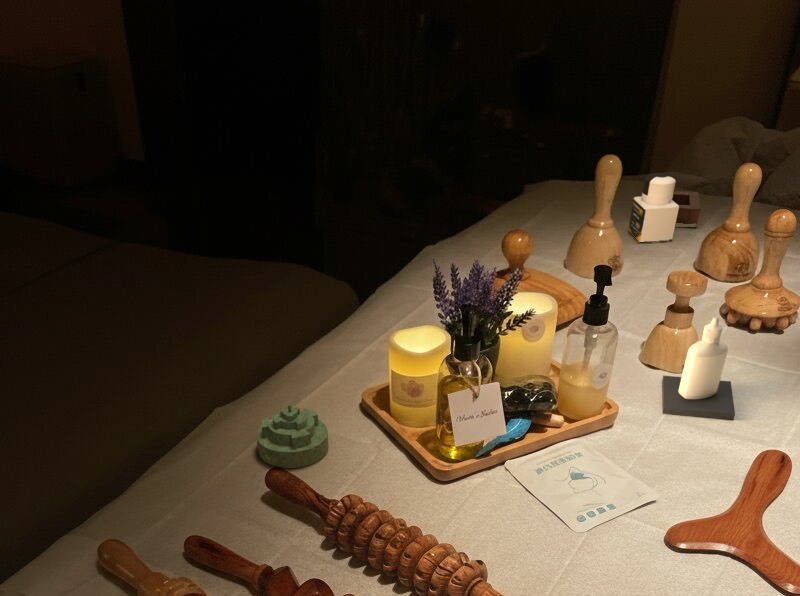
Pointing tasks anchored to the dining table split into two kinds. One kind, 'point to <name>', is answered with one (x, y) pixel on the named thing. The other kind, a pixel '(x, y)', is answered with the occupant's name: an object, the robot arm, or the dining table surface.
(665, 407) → the coaster
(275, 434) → the decorative artifact
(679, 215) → the holder
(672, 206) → the medicine bottle
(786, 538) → the dining table surface
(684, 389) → the eye dropper bottle
